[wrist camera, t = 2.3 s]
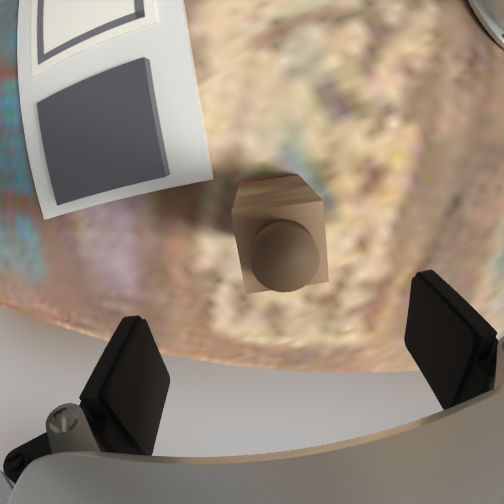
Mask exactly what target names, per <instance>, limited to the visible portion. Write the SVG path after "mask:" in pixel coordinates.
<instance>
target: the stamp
mask: <svg viewBox="0 0 504 504" xmlns="http://www.w3.org/2000/svg"><path fill="white" fill-rule="evenodd" d="M231 217H232V222H233V227H234V233H235V238H236V243H237V248H238V253H239V259H240V264H241V269H242V274H243V279H244V284H245V289H246V294H248V293H255V292H263V291H270V290H273V291H277V292H291V291H295V290H298V289H300V288H302V287H304V286H305V285H310V284H317V283H323V282H329V280H328V262H327V246H326V233H325V220H324V209H323V200H322V199H321V198H320V197H319V196H318V195H317V194H316V193H315V192H314V191H313V189H312V188H311V187H310V186H309V185H308V184H307V183H306V182H305V181H304V180H303V179H302V178H301V177H300V176H299V175H298V174H297V175H289V176H282V177H275V178H268V179H261V180H255V181H248V182H242V183H239V185H238V188H237V192H236V196H235V200H234V204H233V208H232V212H231Z"/></svg>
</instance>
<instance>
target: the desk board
mask: <svg viewBox="0 0 504 504" xmlns="http://www.w3.org/2000/svg"><path fill="white" fill-rule="evenodd" d="M17 60H18V81H19V94H20V104H21V113H22V120H23V127H24V134H25V140H26V146H27V151H28V156H29V161H30V166H31V171H32V175H33V179H34V184H35V188H36V192H37V195H38V199H39V203H40V207H41V210H42V214H43V217H44V220H46V219H49V218H52V217H56V216H59V215H62V214H66V213H69V212H73V211H77V210H80V209H84V208H88V207H91V206H95V205H99V204H103V203H107V202H111V201H115V200H119V199H123V198H127V197H131V196H135V195H140V194H144V193H149V192H153V191H158V190H162V189H167V188H172V187H177V186H182V185H187V184H192V183H197V182H202V181H208V180H213V178H214V174H213V168H212V163H211V158H210V152H209V147H208V142H207V136H206V131H205V125H204V120H203V114H202V108H201V103H200V97H199V91H198V85H197V79H196V74H195V68H194V62H193V56H192V50H191V43H190V37H189V31H188V24H187V18H186V12H185V5H184V0H19V11H18V31H17Z"/></svg>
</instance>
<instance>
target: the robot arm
mask: <svg viewBox="0 0 504 504" xmlns="http://www.w3.org/2000/svg"><path fill="white" fill-rule="evenodd" d="M468 2H469V4H470V6H471V8H472V9H473V11H474V13H475V15H476V16H477V18H478V19H479V21H480V22H481V24H482V25H483V26H484V28H485V29H486V30H487V32H488V33H489V34H490V35H491V37H492V38H493V39H494V40H495V41H496V42H497V43H498V44H499V45H500V46H501V47H502V48H503V49H504V0H468ZM496 335H497V332H496V331H495V329H494V328H493V327H492V326H491V325H490V324H489V323H488V322H487V321H486V320H485V319H484V318H483V317H482V316H481V315H480V314H479V313H478V312H477V311H476V310H475V309H474V308H473V307H472V306H471V305H470V304H469V303H468V302H467V301H466V300H465V299H463V298H462V297H461V296H460V295H459V294H458V293H457V292H456V291H455V290H454V289H453V288H452V287H451V286H450V285H449V284H447V283H446V282H445V281H444V280H443V279H442V278H441V277H440V276H439V275H438V274H436V273H435V272H434V271H433V270H426V271H422V272H418V273H416V275H415V277H413V278H412V282H411V291H410V301H409V309H408V317H407V324H406V331H405V338H404V340H405V345H406V347H407V349H408V351H409V352H410V354H411V355H412V357H413V359H414V360H415V362H416V363H417V365H418V367H419V368H420V370H421V372H422V373H423V375H424V377H425V378H426V380H427V382H428V384H429V385H430V387H431V389H432V390H433V392H434V394H435V396H436V397H437V399H438V401H439V403H440V404H441V406H442V408H443V409H444V410H443V411H441V412H438V413H436V414H433V415H430V416H428V417H425V418H422V419H419V420H416V421H413V422H410V423H408V424H404V425H401V426H398V427H395V428H392V429H388V430H385V431H381V432H378V433H374V434H370V435H367V436H362V437H358V438H354V439H350V440H346V441H342V442H337V443H332V444H327V445H321V446H316V447H310V448H304V449H298V450H291V451H284V452H276V453H266V454H256V455H244V456H226V457H164V456H151V455H152V453H153V449H154V445H155V440H156V436H157V432H158V428H159V424H160V420H161V416H162V412H163V408H164V404H165V400H166V396H167V392H168V388H169V384H170V376H169V373H168V371H167V368H166V366H165V364H164V362H163V360H162V357H161V355H160V353H159V350H158V348H157V345H156V343H155V341H154V338H153V336H152V333H151V331H150V328H149V326H148V323H147V321H146V320H145V319H142V318H141V317H140V316H128V317H124V318H123V319H122V320H121V322H120V324H119V326H118V327H117V329H116V331H115V332H114V334H113V336H112V338H111V339H110V341H109V343H108V345H107V347H106V348H105V350H104V352H103V354H102V356H101V357H100V359H99V361H98V363H97V365H96V367H95V369H94V371H93V372H92V374H91V376H90V378H89V380H88V382H87V384H86V386H85V387H84V390H83V391H82V393H81V395H80V397H79V398H80V400H81V403H80V405H79V406H78V405H76V404H72V403H67V404H63V405H60V406H58V407H57V408H55V409H54V410H53V411H52V412H51V413H50V414H49V416H48V418H47V420H46V430H47V432H46V433H44V434H42V435H40V436H38V437H36V438H34V439H32V440H31V441H29V442H27V443H25V444H23V445H21V446H19V447H17V448H15V449H14V450H12V451H11V452H10V453H9V454H8V455H7V456H6V459H5V460H4V465H3V468H4V472H2V471H1V470H0V504H504V337H502V338H501V339H500V340H499V341H498V340H497V338H496Z"/></svg>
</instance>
